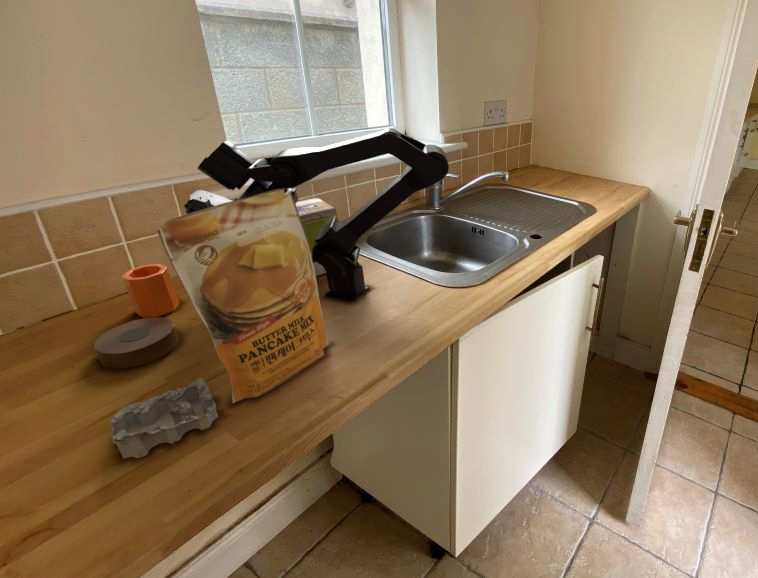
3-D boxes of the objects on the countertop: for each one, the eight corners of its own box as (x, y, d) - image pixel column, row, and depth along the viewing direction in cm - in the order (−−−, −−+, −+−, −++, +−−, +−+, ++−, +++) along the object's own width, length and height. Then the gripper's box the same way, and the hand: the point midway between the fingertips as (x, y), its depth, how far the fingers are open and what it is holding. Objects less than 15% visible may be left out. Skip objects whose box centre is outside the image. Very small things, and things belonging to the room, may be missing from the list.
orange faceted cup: (184, 306, 86) (172, 269, 82) (148, 321, 81) (133, 282, 78) (168, 297, 88) (155, 261, 85) (132, 311, 84) (116, 273, 80)
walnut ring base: (193, 338, 77) (188, 323, 76) (132, 374, 69) (125, 359, 67) (149, 327, 80) (143, 312, 78) (84, 361, 71) (77, 345, 70)
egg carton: (120, 468, 54) (107, 444, 53) (117, 430, 59) (105, 407, 57) (222, 424, 61) (214, 401, 59) (212, 393, 66) (204, 372, 64)
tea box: (329, 253, 109) (319, 195, 102) (347, 268, 103) (337, 207, 96) (261, 272, 99) (245, 209, 93) (276, 289, 93) (260, 223, 86)
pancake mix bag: (204, 398, 65) (139, 218, 53) (318, 333, 80) (288, 182, 68) (232, 417, 62) (170, 231, 50) (344, 345, 77) (317, 190, 65)
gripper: (229, 163, 86) (180, 219, 88) (188, 193, 69) (129, 261, 72) (283, 200, 91) (235, 253, 93) (256, 236, 75) (199, 299, 77)
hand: (203, 264), depth 84 cm, fingers open, 9 cm apart
